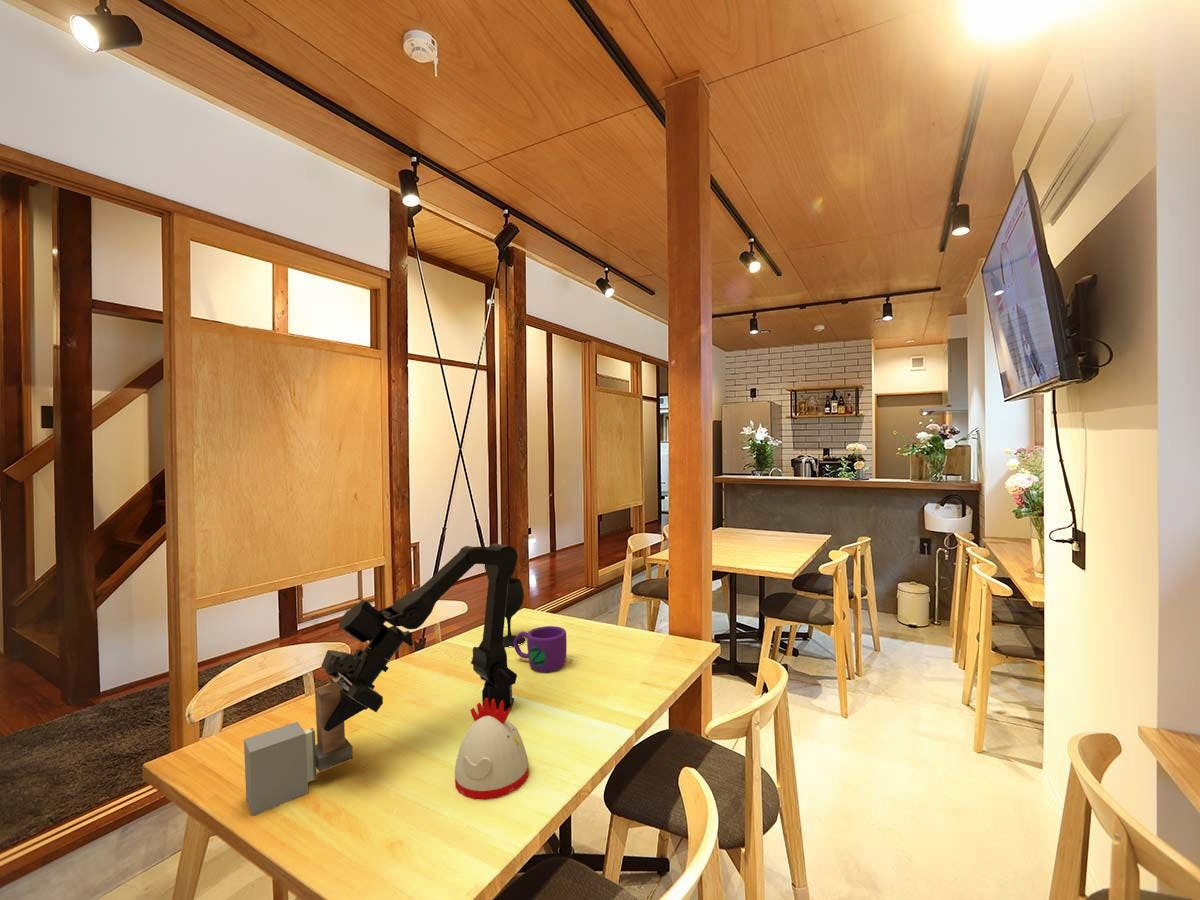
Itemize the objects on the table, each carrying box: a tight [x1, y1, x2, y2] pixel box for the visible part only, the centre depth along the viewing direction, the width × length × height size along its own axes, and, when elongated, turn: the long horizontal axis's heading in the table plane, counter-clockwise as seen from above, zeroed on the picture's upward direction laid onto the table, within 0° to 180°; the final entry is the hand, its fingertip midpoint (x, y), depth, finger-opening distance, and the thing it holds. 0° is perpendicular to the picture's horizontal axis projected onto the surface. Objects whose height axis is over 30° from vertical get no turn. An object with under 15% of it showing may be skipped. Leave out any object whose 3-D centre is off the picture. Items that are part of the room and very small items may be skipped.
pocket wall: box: [243, 721, 309, 817], centre depth 99 cm, size 9×6×11 cm
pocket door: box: [304, 728, 318, 783], centre depth 101 cm, size 8×2×9 cm, turn 132°
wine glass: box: [503, 577, 526, 648], centre depth 176 cm, size 10×10×20 cm
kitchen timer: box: [454, 698, 530, 801], centre depth 103 cm, size 14×14×15 cm
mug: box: [513, 625, 568, 673], centre depth 156 cm, size 17×11×10 cm, turn 63°
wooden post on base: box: [314, 682, 354, 772], centre depth 105 cm, size 6×6×14 cm
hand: (322, 726), depth 104 cm, fingers closed on wooden post on base, 4 cm apart
